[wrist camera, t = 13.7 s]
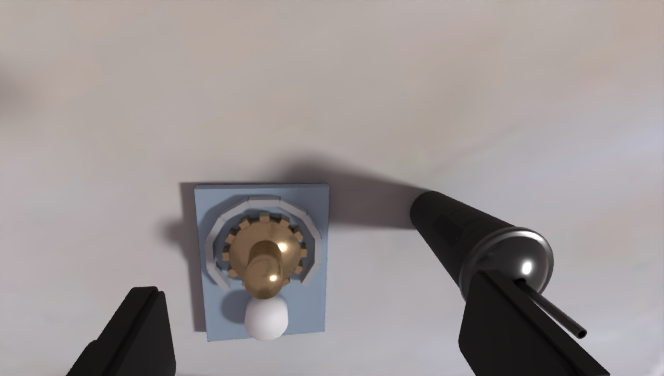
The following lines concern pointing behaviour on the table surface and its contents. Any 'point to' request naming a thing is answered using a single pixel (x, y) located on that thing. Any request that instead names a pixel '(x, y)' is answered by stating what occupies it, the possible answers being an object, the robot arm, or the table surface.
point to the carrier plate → (228, 293)
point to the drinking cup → (487, 249)
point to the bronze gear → (264, 253)
